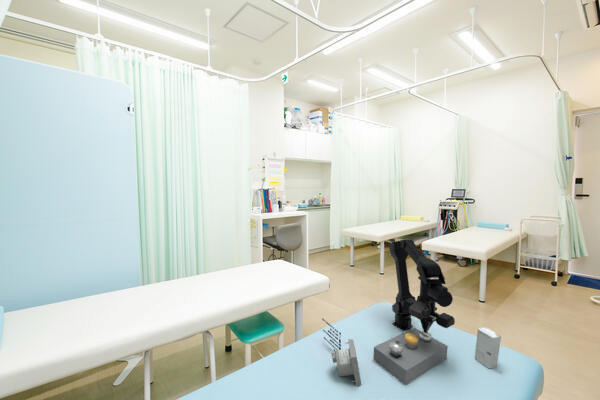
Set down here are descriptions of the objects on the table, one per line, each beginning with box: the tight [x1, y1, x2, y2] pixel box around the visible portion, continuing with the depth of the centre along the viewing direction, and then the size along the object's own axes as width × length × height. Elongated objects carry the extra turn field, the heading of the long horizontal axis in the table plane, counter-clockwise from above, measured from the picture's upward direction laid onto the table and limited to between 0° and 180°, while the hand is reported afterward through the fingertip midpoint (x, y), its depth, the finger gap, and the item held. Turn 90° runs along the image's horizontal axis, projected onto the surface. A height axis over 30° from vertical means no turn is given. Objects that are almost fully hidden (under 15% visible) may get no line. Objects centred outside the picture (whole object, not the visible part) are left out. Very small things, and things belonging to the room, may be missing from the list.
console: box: [373, 327, 448, 385], centre depth 98 cm, size 14×25×5 cm, turn 122°
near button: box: [389, 340, 403, 359], centre depth 93 cm, size 4×4×5 cm
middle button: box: [405, 333, 418, 350], centre depth 98 cm, size 4×4×5 cm
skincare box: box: [474, 326, 502, 369], centre depth 97 cm, size 6×4×12 cm
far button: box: [419, 330, 432, 342], centre depth 103 cm, size 4×4×5 cm
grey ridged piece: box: [321, 317, 362, 387], centre depth 96 cm, size 27×11×10 cm, turn 30°
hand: (425, 332), depth 103 cm, fingers closed
